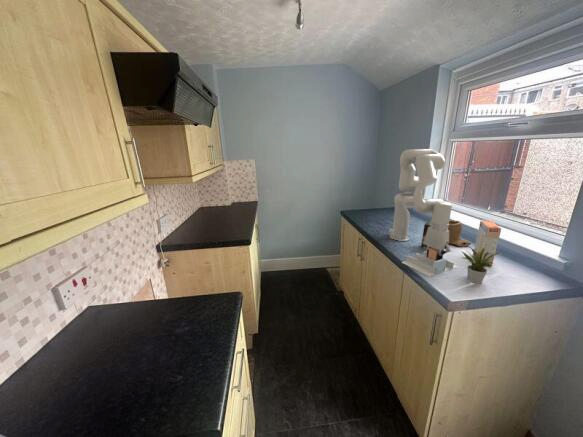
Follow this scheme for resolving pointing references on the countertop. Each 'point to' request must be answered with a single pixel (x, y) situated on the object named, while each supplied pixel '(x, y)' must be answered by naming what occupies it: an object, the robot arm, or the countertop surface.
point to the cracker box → (487, 239)
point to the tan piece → (456, 234)
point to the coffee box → (425, 233)
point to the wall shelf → (428, 264)
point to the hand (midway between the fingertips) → (433, 258)
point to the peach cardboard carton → (433, 253)
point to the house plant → (478, 265)
